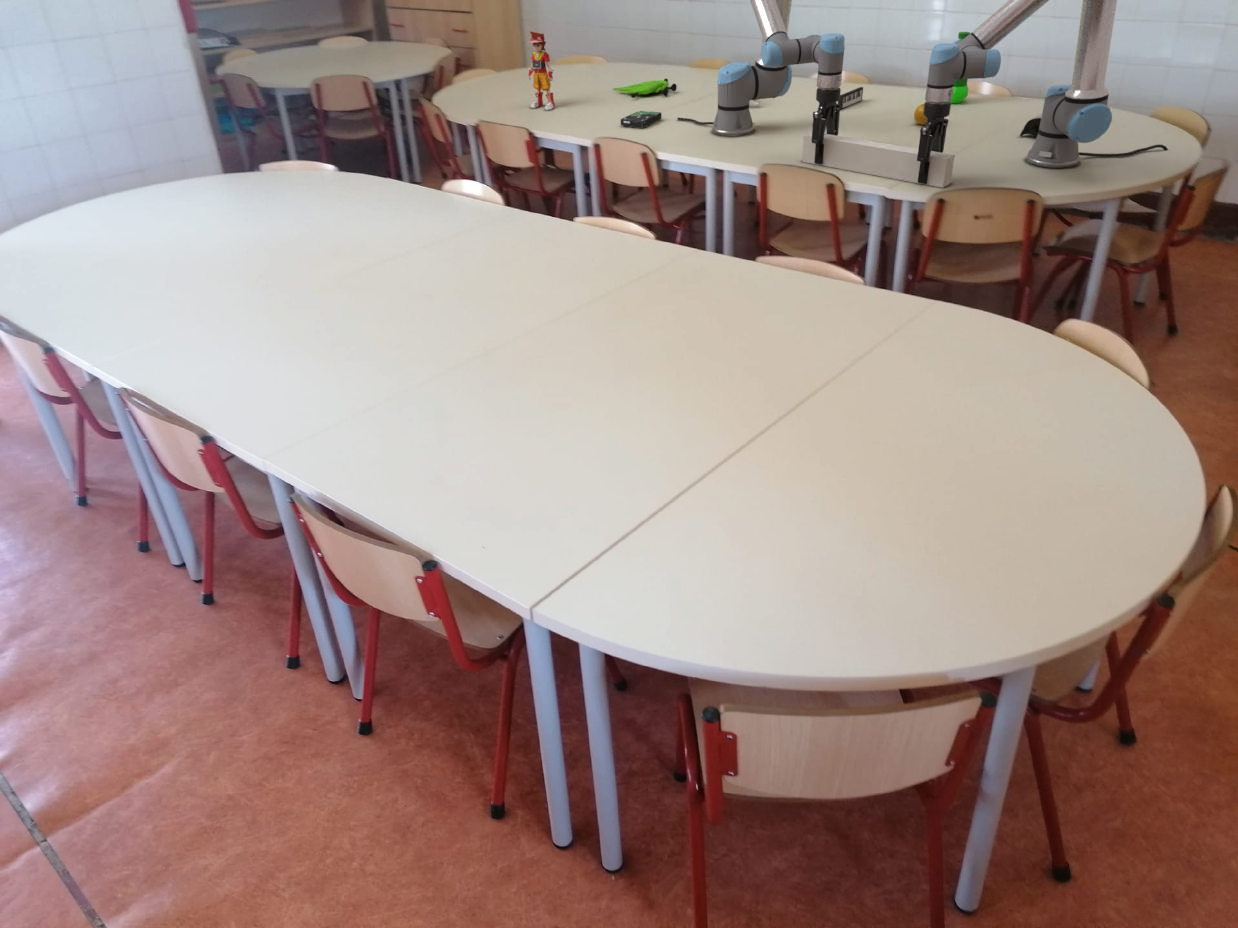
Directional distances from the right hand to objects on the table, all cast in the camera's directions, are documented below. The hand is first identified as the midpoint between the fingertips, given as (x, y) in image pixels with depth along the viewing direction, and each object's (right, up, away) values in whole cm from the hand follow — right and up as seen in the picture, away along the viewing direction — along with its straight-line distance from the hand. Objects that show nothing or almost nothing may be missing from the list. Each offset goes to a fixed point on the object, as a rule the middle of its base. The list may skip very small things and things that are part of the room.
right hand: (926, 180), depth 277 cm
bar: (-14, +6, +11) cm, 19 cm away
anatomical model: (-44, +60, +92) cm, 119 cm away
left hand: (-27, +13, +21) cm, 37 cm away
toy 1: (-128, +64, +106) cm, 178 cm away
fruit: (+18, +38, +54) cm, 68 cm away
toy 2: (-86, +77, +120) cm, 166 cm away
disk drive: (-87, +47, +76) cm, 124 cm away
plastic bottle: (+37, +55, +78) cm, 102 cm away
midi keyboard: (-3, +56, +82) cm, 100 cm away
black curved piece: (+58, +31, +41) cm, 77 cm away
